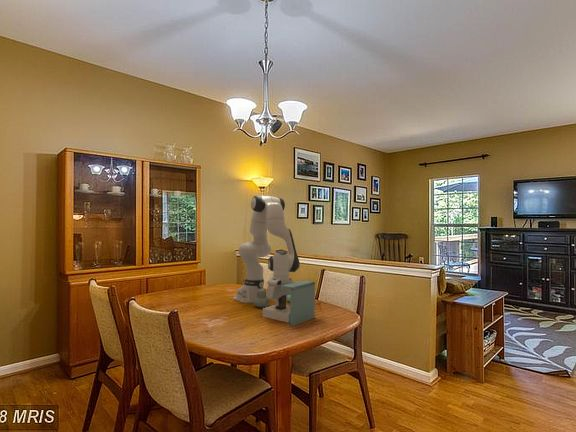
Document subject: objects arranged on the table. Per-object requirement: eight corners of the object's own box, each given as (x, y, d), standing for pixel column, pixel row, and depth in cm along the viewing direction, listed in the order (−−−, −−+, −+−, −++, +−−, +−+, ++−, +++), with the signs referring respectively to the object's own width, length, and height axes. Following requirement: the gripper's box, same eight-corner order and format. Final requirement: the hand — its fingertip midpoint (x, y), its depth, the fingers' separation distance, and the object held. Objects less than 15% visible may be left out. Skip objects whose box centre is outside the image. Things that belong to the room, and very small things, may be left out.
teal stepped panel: (280, 323, 178) (281, 285, 179) (302, 314, 194) (302, 280, 195) (293, 326, 174) (293, 287, 174) (314, 317, 190) (314, 282, 190)
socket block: (262, 316, 190) (262, 308, 190) (278, 311, 201) (278, 303, 201) (288, 322, 179) (288, 314, 179) (303, 316, 190) (303, 308, 190)
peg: (275, 311, 191) (276, 295, 191) (280, 309, 194) (280, 294, 194) (281, 312, 188) (281, 296, 188) (286, 311, 192) (286, 294, 192)
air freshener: (258, 304, 218) (259, 288, 218) (270, 305, 215) (271, 289, 215) (251, 308, 208) (251, 291, 208) (264, 309, 205) (264, 292, 205)
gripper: (287, 276, 202) (287, 300, 201) (265, 281, 185) (264, 307, 185) (296, 278, 198) (296, 302, 198) (274, 283, 181) (273, 309, 181)
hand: (280, 304), depth 191 cm, fingers closed on peg, 4 cm apart
